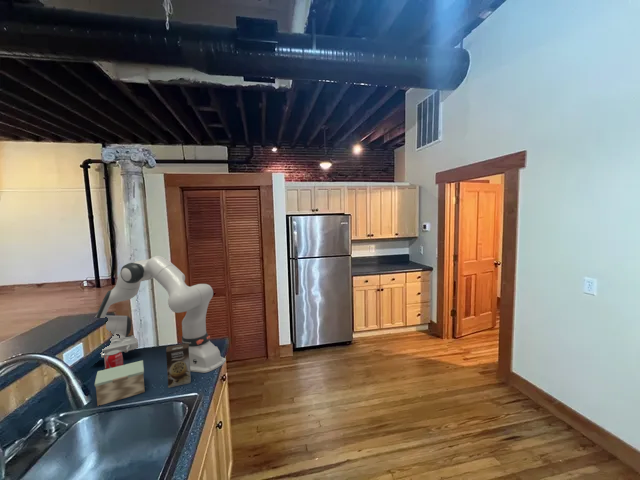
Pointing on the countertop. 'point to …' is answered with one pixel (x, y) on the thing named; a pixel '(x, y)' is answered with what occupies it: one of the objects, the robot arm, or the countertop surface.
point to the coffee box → (178, 365)
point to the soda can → (113, 359)
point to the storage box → (119, 389)
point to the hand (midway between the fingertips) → (115, 353)
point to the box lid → (119, 373)
